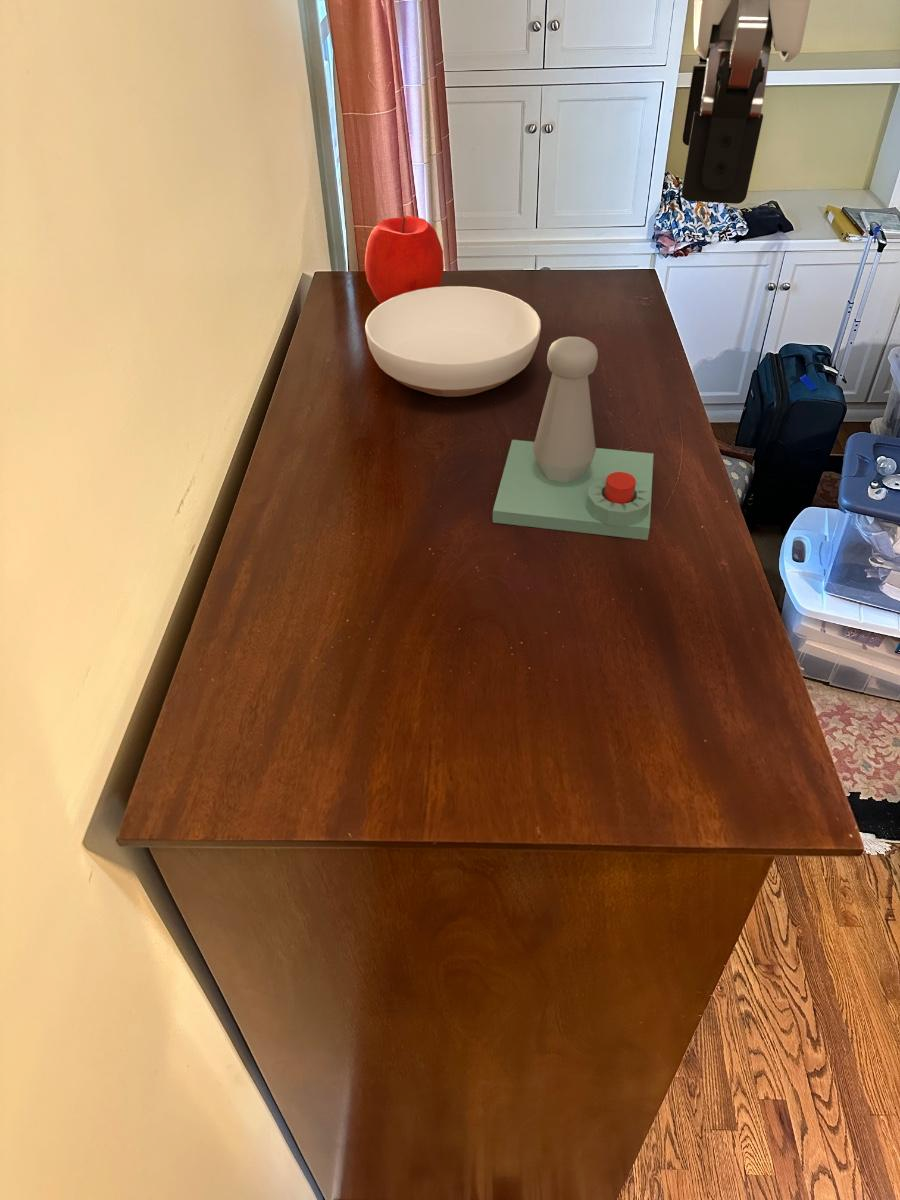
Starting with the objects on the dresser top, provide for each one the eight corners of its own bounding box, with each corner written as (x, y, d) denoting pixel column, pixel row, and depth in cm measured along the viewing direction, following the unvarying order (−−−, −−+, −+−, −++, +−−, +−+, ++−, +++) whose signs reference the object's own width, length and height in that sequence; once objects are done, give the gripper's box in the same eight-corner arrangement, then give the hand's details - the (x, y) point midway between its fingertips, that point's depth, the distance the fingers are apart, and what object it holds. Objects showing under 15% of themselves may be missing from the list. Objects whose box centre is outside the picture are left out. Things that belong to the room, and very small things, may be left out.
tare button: (634, 489, 78) (636, 473, 77) (632, 506, 76) (635, 490, 75) (605, 486, 78) (607, 470, 77) (603, 503, 76) (605, 486, 75)
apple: (409, 339, 106) (404, 238, 97) (351, 317, 110) (342, 219, 102) (460, 311, 111) (459, 213, 103) (403, 292, 116) (398, 197, 108)
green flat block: (651, 465, 85) (656, 439, 83) (647, 542, 76) (652, 515, 74) (511, 451, 87) (512, 425, 85) (492, 524, 79) (492, 497, 77)
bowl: (337, 365, 101) (331, 315, 97) (468, 320, 109) (468, 272, 105) (434, 436, 90) (433, 383, 85) (573, 379, 98) (578, 328, 94)
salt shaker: (592, 455, 84) (607, 329, 75) (593, 489, 80) (610, 360, 71) (532, 452, 85) (540, 327, 76) (530, 486, 80) (539, 358, 72)
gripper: (926, -284, 29) (794, 231, 41) (855, -260, 42) (769, 130, 53) (700, -277, 30) (635, 222, 42) (696, -256, 43) (646, 125, 54)
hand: (710, 170), depth 48 cm, fingers open, 9 cm apart
